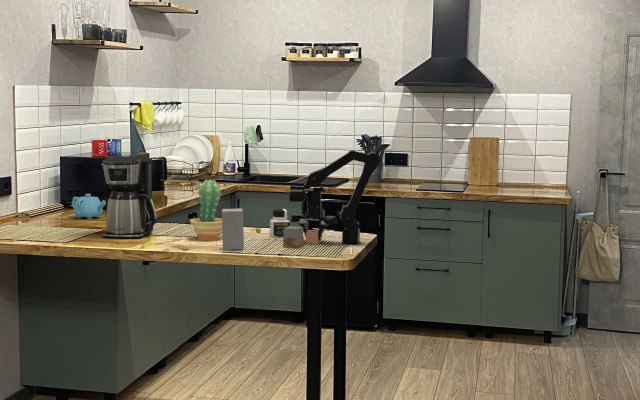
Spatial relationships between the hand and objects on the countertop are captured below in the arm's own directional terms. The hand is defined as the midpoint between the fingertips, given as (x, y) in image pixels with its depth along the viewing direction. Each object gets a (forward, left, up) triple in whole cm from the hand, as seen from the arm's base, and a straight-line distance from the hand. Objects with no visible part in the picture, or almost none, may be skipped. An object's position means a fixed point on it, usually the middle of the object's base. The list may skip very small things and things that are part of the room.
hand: (313, 239), depth 361 cm
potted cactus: (+44, +9, -1) cm, 45 cm away
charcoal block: (+4, +13, +3) cm, 14 cm away
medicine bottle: (+19, -10, -2) cm, 22 cm away
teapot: (+126, -27, -2) cm, 129 cm away
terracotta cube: (0, 0, -1) cm, 1 cm away
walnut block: (+4, +13, -1) cm, 14 cm away
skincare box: (+24, +28, -2) cm, 37 cm away
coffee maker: (+78, +10, -2) cm, 79 cm away
